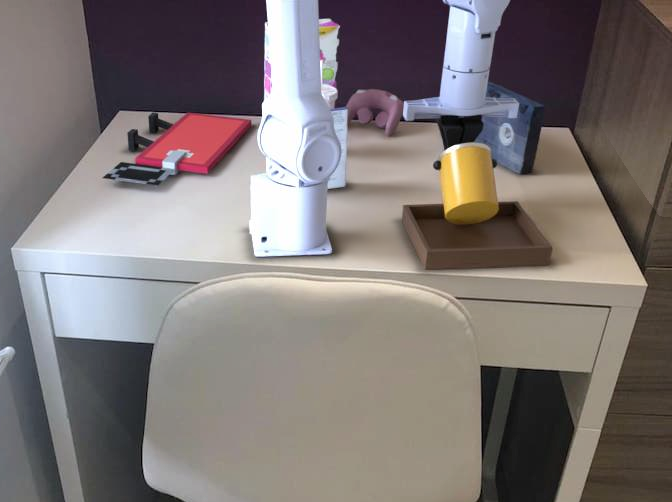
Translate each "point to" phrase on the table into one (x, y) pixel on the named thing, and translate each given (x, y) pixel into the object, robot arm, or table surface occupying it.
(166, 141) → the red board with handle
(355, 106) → the video game controller
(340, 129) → the ink box
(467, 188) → the pot
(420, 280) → the table surface
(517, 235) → the tray
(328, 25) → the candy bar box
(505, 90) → the vhs cassette tape
